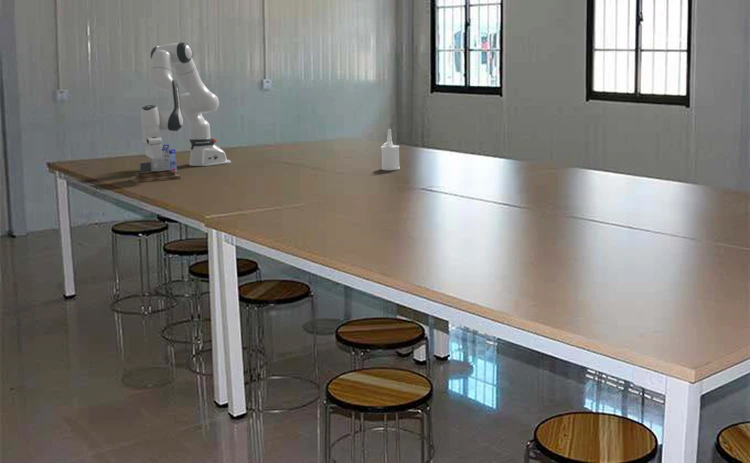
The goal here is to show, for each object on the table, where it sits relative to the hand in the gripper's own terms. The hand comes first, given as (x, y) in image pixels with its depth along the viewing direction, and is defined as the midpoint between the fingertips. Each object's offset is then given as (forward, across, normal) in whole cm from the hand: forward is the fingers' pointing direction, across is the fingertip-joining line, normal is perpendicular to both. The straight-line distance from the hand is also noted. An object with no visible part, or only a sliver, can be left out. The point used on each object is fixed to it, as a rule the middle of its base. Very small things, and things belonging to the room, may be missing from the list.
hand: (154, 166), depth 448 cm
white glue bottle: (+6, +44, +108) cm, 117 cm away
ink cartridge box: (+6, -19, +10) cm, 22 cm away
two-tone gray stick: (+2, 0, 0) cm, 2 cm away
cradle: (+6, 0, 0) cm, 6 cm away
